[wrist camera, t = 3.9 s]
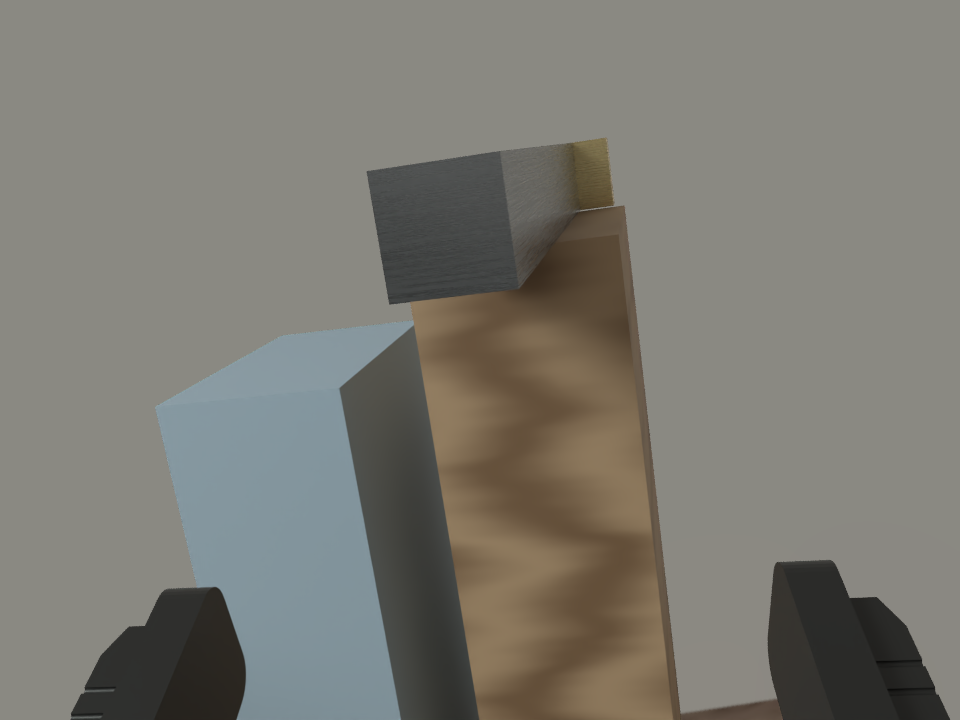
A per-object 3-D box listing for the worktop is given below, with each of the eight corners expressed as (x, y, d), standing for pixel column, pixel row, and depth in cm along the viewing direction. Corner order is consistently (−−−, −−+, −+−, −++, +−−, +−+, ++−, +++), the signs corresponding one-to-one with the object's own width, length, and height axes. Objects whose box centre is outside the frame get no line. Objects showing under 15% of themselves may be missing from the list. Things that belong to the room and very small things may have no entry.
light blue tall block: (301, 1034, 38) (155, 406, 32) (379, 827, 50) (281, 335, 44) (461, 1042, 37) (339, 388, 31) (503, 827, 48) (420, 319, 42)
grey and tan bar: (327, 311, 21) (303, 180, 20) (489, 220, 43) (480, 156, 43) (586, 280, 20) (569, 140, 19) (614, 202, 42) (607, 137, 42)
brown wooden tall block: (533, 1045, 36) (403, 262, 30) (558, 827, 48) (469, 226, 41) (710, 1053, 35) (618, 234, 28) (692, 827, 46) (624, 205, 40)
